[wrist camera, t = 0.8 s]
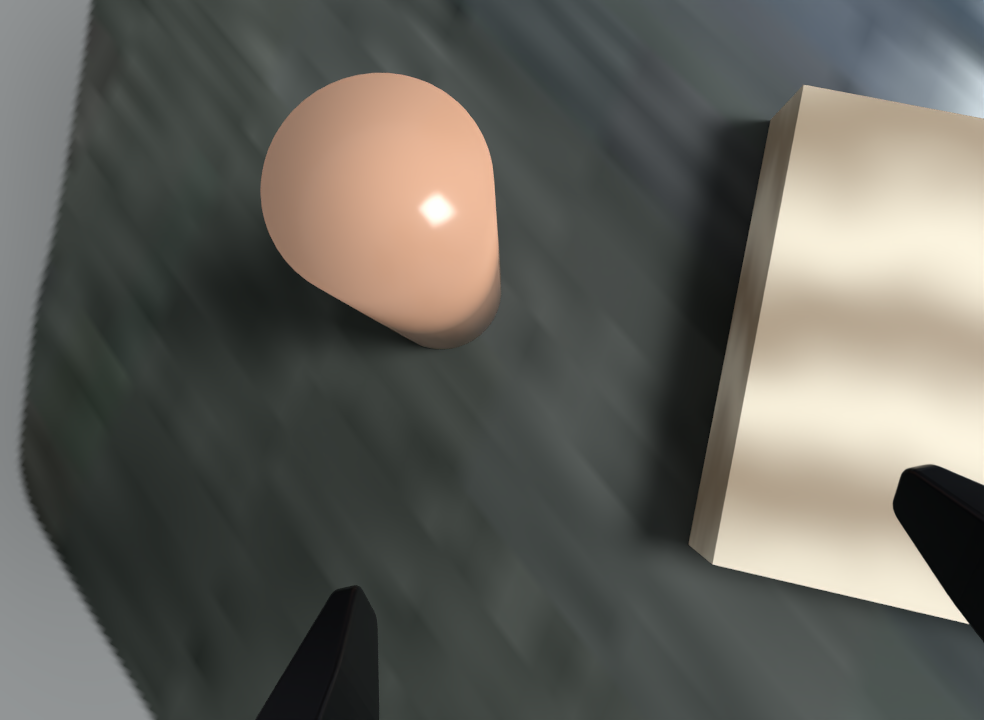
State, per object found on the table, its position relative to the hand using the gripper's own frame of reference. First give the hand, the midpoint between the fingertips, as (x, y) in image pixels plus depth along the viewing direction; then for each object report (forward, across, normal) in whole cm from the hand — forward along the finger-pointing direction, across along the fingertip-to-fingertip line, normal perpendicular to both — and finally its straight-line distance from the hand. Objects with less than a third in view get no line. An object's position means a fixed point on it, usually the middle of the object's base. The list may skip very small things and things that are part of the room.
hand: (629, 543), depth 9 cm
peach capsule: (+15, +3, +1) cm, 15 cm away
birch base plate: (+10, -16, +8) cm, 21 cm away
